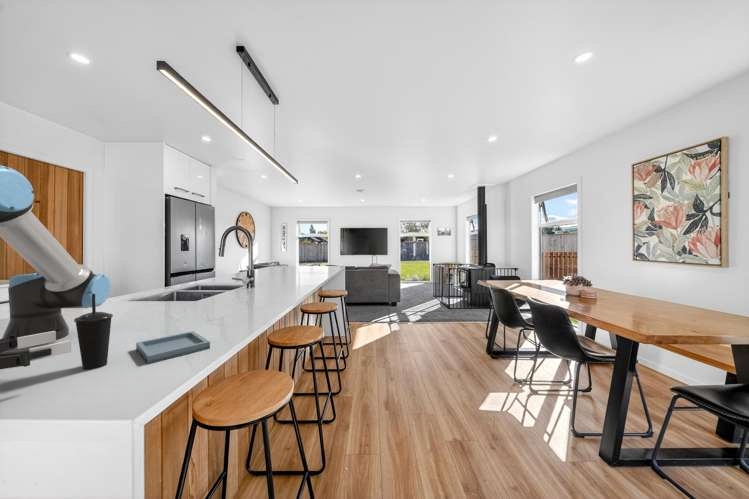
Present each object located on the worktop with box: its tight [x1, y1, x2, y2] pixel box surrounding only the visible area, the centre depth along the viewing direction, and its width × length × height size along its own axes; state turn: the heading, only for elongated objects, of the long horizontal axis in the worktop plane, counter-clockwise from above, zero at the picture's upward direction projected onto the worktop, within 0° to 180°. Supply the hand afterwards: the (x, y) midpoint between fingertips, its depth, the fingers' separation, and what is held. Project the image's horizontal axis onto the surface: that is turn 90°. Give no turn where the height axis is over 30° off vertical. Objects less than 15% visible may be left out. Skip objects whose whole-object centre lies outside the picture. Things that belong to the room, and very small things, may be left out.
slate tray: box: [135, 330, 211, 365], centre depth 93 cm, size 16×16×2 cm
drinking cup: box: [73, 294, 114, 371], centre depth 80 cm, size 8×8×20 cm
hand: (62, 340), depth 75 cm, fingers open, 13 cm apart
